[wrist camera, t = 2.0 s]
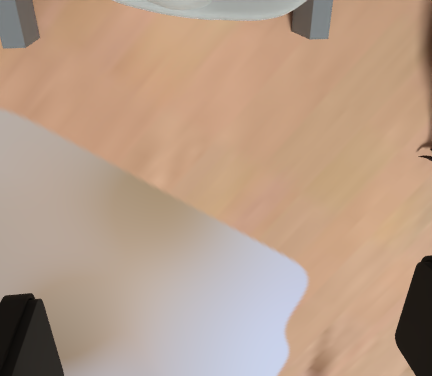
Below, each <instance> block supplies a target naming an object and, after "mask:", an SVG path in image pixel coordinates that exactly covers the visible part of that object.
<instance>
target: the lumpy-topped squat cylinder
mask: <svg viewBox="0 0 432 376" xmlns="http://www.w3.org/2000/svg"><path fill="white" fill-rule="evenodd" d="M113 1H115V2H118V3H121V4H124V5H127V6H130V7H134V8H138V9H142V10H147V11H151V12H155V13H160V14H166V15H172V16H178V17H185V18H193V19H205V20H235V21H257V20H266V19H272V18H276V17H280V16H283V15H285V14H287V13H289V12H291V11H293V10H295V9H296V8H298V7H299V6H300V5H302V4H303V3H304V2H306V1H307V0H113Z"/></svg>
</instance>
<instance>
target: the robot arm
mask: <svg viewBox="0 0 432 376" xmlns="http://www.w3.org/2000/svg"><path fill="white" fill-rule="evenodd" d="M395 340H396V344H397V346H398V348H399V350H400V351H401V353H402V355H403V356H404V358H405V359H406V361H407V362H408V364H409V366H410V367H411V369H412V370H413V372H414V373H415V375H416V376H432V256H425V257H424V258H423V259H422V261H421V262H420V263H418V264H417V266H416V268H415V271H414V275H413V278H412V281H411V284H410V287H409V291H408V294H407V297H406V300H405V304H404V307H403V310H402V313H401V316H400V320H399V323H398V326H397V329H396V333H395ZM0 376H64V373H63V369H62V365H61V362H60V359H59V355H58V352H57V348H56V345H55V342H54V338H53V335H52V331H51V328H50V324H49V321H48V317H47V314H46V310H45V307H44V304H43V301H42V299H35V297H34V295H33V294H32V293H29V294H19V295H7V296H4V297H3V299H2V300H1V302H0Z"/></svg>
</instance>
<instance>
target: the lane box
mask: <svg viewBox="0 0 432 376" xmlns="http://www.w3.org/2000/svg"><path fill="white" fill-rule="evenodd" d="M332 4H333V0H307V1H306V2H304V3H303V4H302V5H300V6H299V7H298V8H296V9H295V10H293V18H292V30H291V31H292V32H294V33H297V34H299V35H301V36H303V37H306V38H308V39H328V36H329V28H330V20H331V12H332ZM0 38H1V42H2V46H3V48H26V47H27V46H29V45H30V44H32V43H33V42H35V41H36V40H38V39H39V38H40V36H39V31H38V26H37V21H36V16H35V11H34V6H33V2H32V0H0Z"/></svg>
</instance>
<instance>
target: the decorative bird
mask: <svg viewBox="0 0 432 376" xmlns="http://www.w3.org/2000/svg"><path fill="white" fill-rule="evenodd" d="M431 151H432V149H431ZM418 157H424V158H427V159H429V160H431V161H432V157H431V156H418Z"/></svg>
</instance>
